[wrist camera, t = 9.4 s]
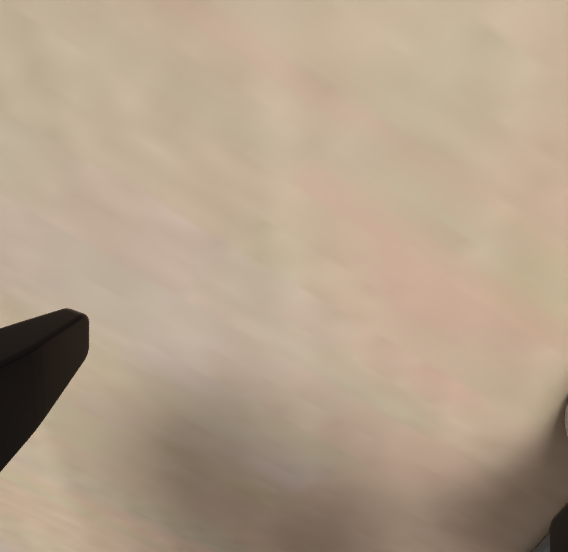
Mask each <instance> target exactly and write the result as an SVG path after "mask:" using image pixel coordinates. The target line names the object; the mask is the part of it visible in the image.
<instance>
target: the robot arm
mask: <svg viewBox="0 0 568 552" xmlns="http://www.w3.org/2000/svg"><path fill="white" fill-rule="evenodd" d="M88 350H89V319H88V317H87V315H85V314H83V313H81V312H78V311H75V310H72V309H68V308H65V309H61V310H58V311H54V312H51V313H48V314H45V315H42V316H38V317H35V318H32V319H29V320H25V321H22V322H19V323H16V324H13V325H9V326H6V327H3V328H0V472H1V471H2V469H3V468H4V467H5V466H6V465H7V464H8V462H9V461H10V460H11V459H12V458H13V456H14V455H15V454H16V453H17V452H18V451H19V449H20V448H21V447H22V446H23V445H24V444H25V442H26V441H27V440H28V439H29V438H30V436H31V435H32V434H33V433H34V432H35V430H36V429H37V428H38V427H39V425H40V424H41V422H42V421H43V420H44V418H45V417H46V416H47V414H48V413H49V411H50V410H51V408H52V407H53V405H54V404H55V402H56V401H57V400H58V398H59V397H60V395H61V394H62V392H63V391H64V389H65V388H66V386H67V385H68V384H69V382H70V381H71V379H72V378H73V376H74V375H75V373H76V372H77V370H78V369H79V367H80V366H81V365H82V363H83V362H84V360H85V358H86V356H87V354H88ZM549 542H550V552H568V503H567V504H566V505H565V506H564V507H563V508H562V509H561V510H560V511H559V512H558V514H557V515H556V516H555V517H554V518H553V520H552V522H551V525H550V530H549Z"/></svg>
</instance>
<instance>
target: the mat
mask: <svg viewBox="0 0 568 552" xmlns="http://www.w3.org/2000/svg"><path fill="white" fill-rule="evenodd" d="M532 552H550V542H549V534H548V535H547V536H546V537H545V538H544V539H543V540H542V541H541V543H540V544H539V545H538V546H537V547H536V548H535V549H534V550H533V551H532Z"/></svg>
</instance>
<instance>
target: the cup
mask: <svg viewBox="0 0 568 552" xmlns="http://www.w3.org/2000/svg"><path fill="white" fill-rule="evenodd" d="M565 428H566V433H567V437H568V405H567V407H566V409H565Z"/></svg>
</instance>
